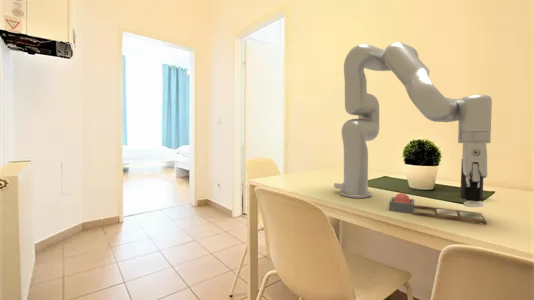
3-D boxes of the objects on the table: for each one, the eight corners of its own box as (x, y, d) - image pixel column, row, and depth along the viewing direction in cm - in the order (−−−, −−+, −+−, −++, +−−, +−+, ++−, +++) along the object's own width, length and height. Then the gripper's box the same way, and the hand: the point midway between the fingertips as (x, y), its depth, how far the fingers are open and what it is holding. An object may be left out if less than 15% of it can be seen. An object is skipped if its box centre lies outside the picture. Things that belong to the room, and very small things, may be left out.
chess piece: (488, 206, 75) (483, 171, 75) (469, 208, 76) (464, 174, 76) (477, 202, 80) (472, 170, 80) (460, 204, 81) (455, 172, 81)
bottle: (457, 195, 106) (459, 145, 104) (478, 196, 103) (480, 146, 102) (463, 199, 99) (465, 147, 98) (485, 200, 97) (487, 147, 95)
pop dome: (392, 207, 87) (393, 193, 87) (394, 204, 92) (394, 190, 91) (409, 209, 85) (410, 195, 84) (410, 206, 89) (411, 192, 89)
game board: (412, 214, 83) (412, 211, 83) (414, 207, 90) (414, 204, 90) (486, 224, 73) (486, 221, 73) (481, 215, 81) (481, 212, 81)
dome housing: (389, 210, 87) (389, 201, 87) (391, 205, 93) (392, 196, 93) (413, 213, 84) (413, 204, 83) (414, 208, 89) (414, 199, 89)
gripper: (496, 138, 68) (493, 208, 69) (485, 137, 81) (483, 195, 83) (460, 139, 72) (458, 204, 73) (456, 137, 85) (454, 192, 87)
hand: (471, 199), depth 78 cm, fingers closed on chess piece
